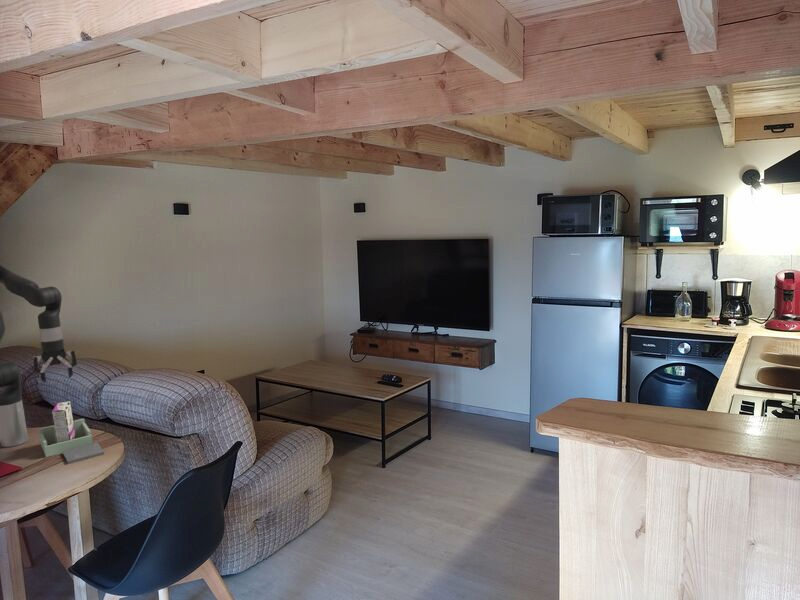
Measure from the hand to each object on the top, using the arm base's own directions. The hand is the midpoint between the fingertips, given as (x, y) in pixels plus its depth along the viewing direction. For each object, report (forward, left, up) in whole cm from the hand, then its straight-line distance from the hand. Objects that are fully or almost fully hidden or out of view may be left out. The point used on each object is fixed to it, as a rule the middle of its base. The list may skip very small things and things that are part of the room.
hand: (57, 379), depth 220 cm
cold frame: (0, 0, -27) cm, 27 cm away
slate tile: (+14, +4, -27) cm, 31 cm away
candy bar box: (0, 0, -28) cm, 28 cm away
